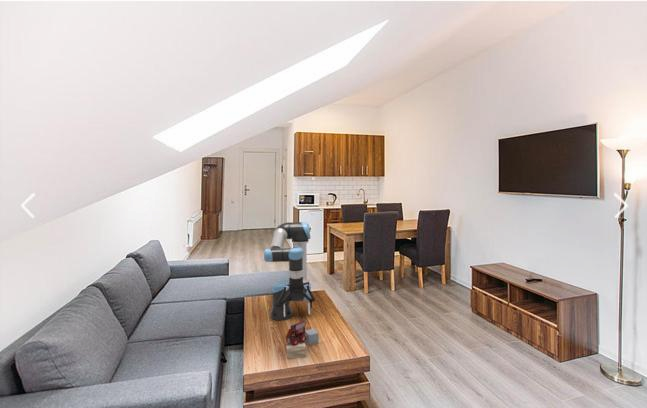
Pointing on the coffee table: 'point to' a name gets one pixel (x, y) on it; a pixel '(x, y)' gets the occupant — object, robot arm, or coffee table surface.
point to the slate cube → (312, 336)
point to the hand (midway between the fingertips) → (296, 314)
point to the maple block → (296, 350)
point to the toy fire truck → (296, 333)
